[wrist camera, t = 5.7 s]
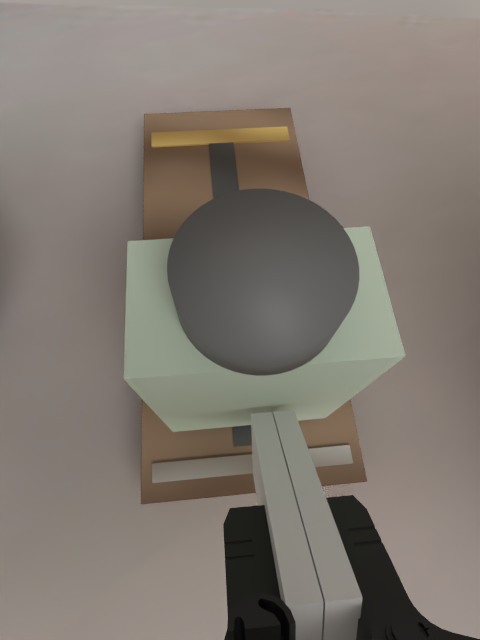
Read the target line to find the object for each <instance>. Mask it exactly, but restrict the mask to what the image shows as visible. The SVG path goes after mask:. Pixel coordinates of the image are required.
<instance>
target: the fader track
mask: <svg viewBox="0 0 480 640" xmlns="http://www.w3.org/2000/svg"><path fill="white" fill-rule="evenodd" d="M245 189H274V190H280V191H285V192H289V193H292V194H296V195H299V196H301V197H303V198H306V199H308V200H309V197H308V192H307V187H306V182H305V177H304V173H303V168H302V163H301V158H300V153H299V148H298V143H297V139H296V134H295V129H294V124H293V119H292V114H291V109H290V108H278V109H254V110H230V111H207V112H183V113H159V114H144V209H143V240H155V239H171V238H174V236H175V235H176V233H177V231H178V229H179V228H180V226H181V225H182V224H183V222H184V221H185V220H186V219H187V218H188V217H189V216H190V215H191V214H192V213H193V212H194V211H195V210H197V209H198V208H199V207H200V206H202V205H203V204H205V203H207V202H208V201H210V200H212V199H214V198H216V197H219V196H221V195H224V194H227V193H230V192H234V191H239V190H245ZM298 423H299V425H300V428H301V431H302V433H303V436H304V439H305V442H306V444H307V447H308V450H309V453H310V455H311V458H312V461H313V463H314V466H315V469H316V472H317V474H318V477H319V480H320V483H321V485H322V486H326V485H336V484H346V483H356V482H366V481H367V479H366V474H365V469H364V464H363V459H362V454H361V449H360V445H359V440H358V435H357V430H356V425H355V420H354V415H353V411H352V406H351V401H350V400H348V401H347V402H346V403H344V404H343V405H342V406H340V407H339V408H338V409H337V410H335V411H334V412H333V413H331V414H330V415H329V416H327V417H326V418H322V419H311V420H300V421H298ZM247 493H256V490H255V484H254V477H253V459H252V433H251V425H245V426H234V427H223V428H212V429H201V430H190V431H179V432H172V431H171V429H170V428H169V427H168V426H167V425H166V424H165V423H164V422H163V421H162V420H161V419H160V418H159V417H158V416H157V414H156V413H155V412H154V411H153V410H152V409H151V408H150V407H149V406H148V405H147V404H146V403H145V402H144V401H143V400H142V450H141V504H149V503H159V502H168V501H178V500H188V499H198V498H208V497H218V496H228V495H238V494H247Z"/></svg>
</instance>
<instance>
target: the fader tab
mask: <svg viewBox="0 0 480 640" xmlns="http://www.w3.org/2000/svg"><path fill="white" fill-rule="evenodd" d="M405 356H406V355H405V352H404V348H403V344H402V341H401V337H400V334H399V330H398V326H397V323H396V319H395V315H394V312H393V308H392V304H391V301H390V297H389V294H388V290H387V286H386V283H385V279H384V275H383V272H382V268H381V264H380V261H379V257H378V254H377V250H376V246H375V243H374V239H373V235H372V232H371V228H370V226H367V227H351V228H343V227H342V226H341V225H340V224H339V222H338V221H337V220H336V219H335V218H334V217H333V216H332V215H330V214H329V213H328V212H327V211H326V210H324V209H323V208H322V207H320V206H319V205H317V204H315V203H313V202H312V201H310V200H308V199H306V198H303V197H301V196H299V195H296V194H292V193H289V192H285V191H280V190H274V189H245V190H239V191H234V192H230V193H227V194H224V195H221V196H219V197H216V198H214V199H212V200H210V201H208V202H207V203H205V204H203V205H202V206H200V207H199V208H198V209H197V210H195V211H194V212H193V213H192V214H191V215H190V216H189V217H188V218H187V219H186V220H185V221H184V222H183V224H182V225H181V226H180V228H179V229H178V231H177V233H176V235H175V236H174V238H171V239H155V240H139V241H127V276H126V313H125V349H124V380H125V381H126V382H127V383H128V385H129V386H130V387H131V388H132V389H133V390H134V391H135V392H136V393H137V394H138V395H139V396H140V397H141V398H142V400H143V401H144V402H145V403H146V404H147V405H148V406H149V407H150V408H151V409H152V410H153V411H154V412H155V413H156V414H157V416H158V417H159V418H160V419H161V420H162V421H163V422H164V423H165V424H166V425H167V426H168V427H169V428H170V429H171V431H172V432H179V431H190V430H201V429H212V428H223V427H234V426H245V425H251V414H255V413H266V412H272V414H273V412H278V411H290V410H294V412H295V414H296V417H297V420H298V421H300V420H311V419H322V418H326V417H327V416H329V415H330V414H331V413H333V412H334V411H335V410H337V409H338V408H339V407H340V406H342V405H343V404H344V403H346V402H347V401H348V400H350V399H351V398H352V397H353V396H355V395H356V394H357V393H359V392H360V391H361V390H363V389H364V388H365V387H366V386H368V385H369V384H370V383H372V382H373V381H374V380H376V379H377V378H378V377H379V376H381V375H382V374H383V373H385V372H386V371H387V370H389V369H390V368H391V367H392V366H394V365H395V364H396V363H398V362H399V361H400V360H402V359H403V358H404V357H405Z"/></svg>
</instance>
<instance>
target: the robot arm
mask: <svg viewBox="0 0 480 640" xmlns="http://www.w3.org/2000/svg"><path fill="white" fill-rule="evenodd" d="M251 433H252V459H253V477H254V484H255V490H256V497H257V503H258V506H250V507H239V508H230V510H229V512H228V515H227V517H226V520H225V522H224V544H225V565H226V585H227V606H228V629H227V632H226V636H225V639H224V640H480V639H477V638H472V637H468V636H464V635H460V634H456V633H452V632H449V631H446V630H443V629H441V628H439V627H437V626H436V625H434V624H432V623H431V622H429V621H428V620H427V619H426V618H425V617H424V616H422V615H421V614H420V613H419V612H418V610H417V609H416V608H415V607H414V606H413V604H412V602H411V601H410V599H409V597H408V595H407V593H406V591H405V589H404V587H403V585H402V583H401V581H400V579H399V576H398V574H397V572H396V570H395V568H394V566H393V564H392V562H391V560H390V557H389V555H388V553H387V551H386V549H385V547H384V545H383V543H382V542H381V538H380V536H379V534H378V532H377V530H376V529H375V526H374V524H373V522H372V519H371V517H370V515H369V513H368V511H367V509H366V508H365V507H364V506H363V505H362V504H361V503H360V502H359V501H358V500H357V499H356V498H355V497H354V496H353V495H351V496H341V497H330V498H326V496H325V494H324V491H323V488H322V485H321V483H320V480H319V477H318V474H317V472H316V469H315V466H314V463H313V461H312V458H311V455H310V453H309V450H308V447H307V444H306V442H305V439H304V436H303V433H302V431H301V428H300V425H299V423H298V420H297V417H296V414H295V412H294V410H290V411H278V412H273V414H272V412H266V413H255V414H251Z"/></svg>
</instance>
